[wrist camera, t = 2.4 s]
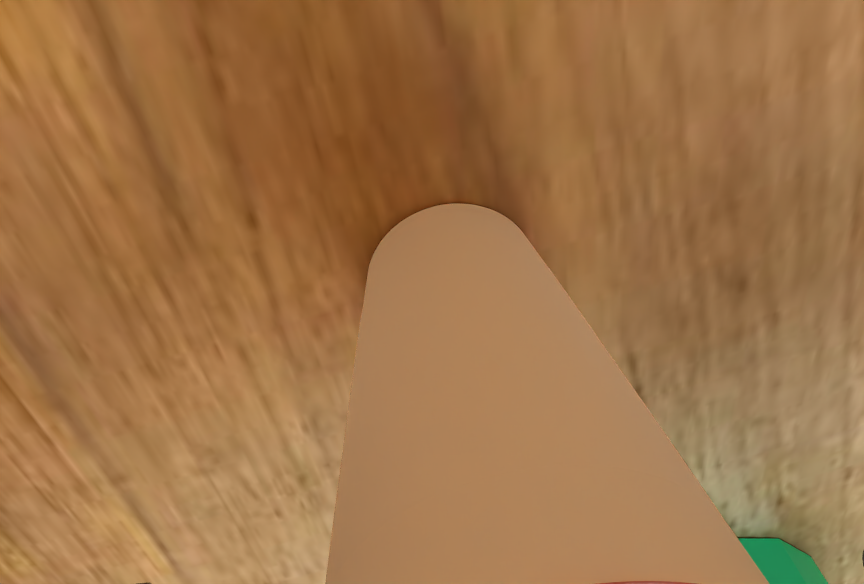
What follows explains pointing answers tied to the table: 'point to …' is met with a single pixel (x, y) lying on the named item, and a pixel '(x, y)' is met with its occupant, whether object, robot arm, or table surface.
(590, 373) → the cup
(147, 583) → the robot arm
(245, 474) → the table surface
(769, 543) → the candle
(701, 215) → the table surface
